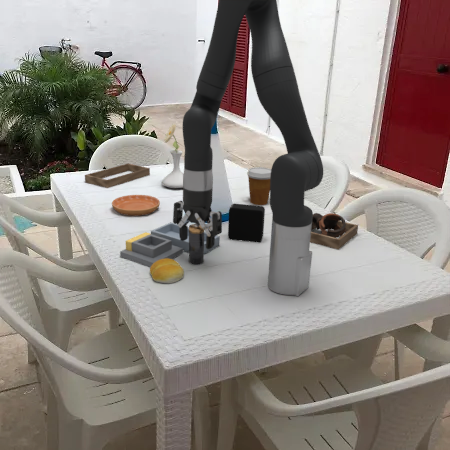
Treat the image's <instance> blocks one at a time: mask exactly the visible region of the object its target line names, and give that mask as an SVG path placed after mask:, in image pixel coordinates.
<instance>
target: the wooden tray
mask: <svg viewBox="0 0 450 450" xmlns="http://www.w3.org/2000/svg"><path fill="white" fill-rule="evenodd" d="M345 223H346V226H345V227H346V230H347V232H346V233H344V234H343V235H342V236H339V237H338V238H334V237H330V236H326V235H322V234H321V233H317V232H313V231H314V230H315V229H316V226H315V225H314V223H313V222H312V228H311V237H310V244H311V243H312V244H316V245H318V246H319V245H320V246H323V247H327V248H331V249H334V250H339V251H340V249H341V248H342V247H344V246H345V245H346V244H347V243H348V242H349V241H351V239H353V238H354V237H355V236H357V235H358V230H359V224H355V223H352V222H347V221H345ZM337 225H339V226H340V227H342V226H343V223H342V221H338V222H337Z"/></svg>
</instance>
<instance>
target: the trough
mask: <svg viewBox="0 0 450 450" xmlns="http://www.w3.org/2000/svg"><path fill="white" fill-rule="evenodd" d="M179 233H180V232H179V226H178V225H177V224H174V223H173V222H168V223H165V224H164V225H161V226H159V227H156V228H153V229H152V230H150V234H152V235H155V236H158V237H162V238H165V239H168V240H171V241H172V245H174V246H177V247H180V248H183V252H187V253H189V226H188V238H187V239H186V240H184V241H182V240H180V236H179ZM206 236H207V234H206V232H205V231H204V255H205V254H208V253H209V252H211V251H212V250H215V249H216V248H218V247H220V241H221V240H220V238H221V237H220V235H216V236H215V242H214V243H215V245H214V246H213V247H212V248H211V249H206Z"/></svg>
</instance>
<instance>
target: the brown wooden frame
mask: <svg viewBox="0 0 450 450" xmlns="http://www.w3.org/2000/svg"><path fill="white" fill-rule="evenodd" d="M125 172H129V173H126V174H122V173H125ZM118 174H122V175H119V176H118ZM115 175H117V176H115ZM150 175H151V169H150V167H146V166H142V165H137V164H132V163H124V164H121V165H117V166H114V167H109V168H106V169H102V170H98V171H94V172H92V173H87V174H84V183H87V184H90V185H93V186H97V187H101V188H104V189H105V188H106V189H109V188H113V187H116V186H120V185H123V184H125V183H129V182H132V181H135V180H136V181H137V180H139V179H143V178H145V177H148V176H150ZM112 176H115V177H112ZM108 177H112V178H108ZM106 178H108V179H106Z"/></svg>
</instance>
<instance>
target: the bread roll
mask: <svg viewBox="0 0 450 450" xmlns="http://www.w3.org/2000/svg"><path fill="white" fill-rule="evenodd" d="M149 274H150V276H151V277H152V279H153V280H154V282H156V283H161V284H173V283H177V282H179V281H180V280H181V279H183V278H184V275H185V271H184V268H183V267H182V266H181V264H180V263H179V262H178V261H176V260H175V259H174V258H173V259H169V258H165V259H160V260H158V261H156V262H155V263H153V264H152V266H151V267H149Z"/></svg>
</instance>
